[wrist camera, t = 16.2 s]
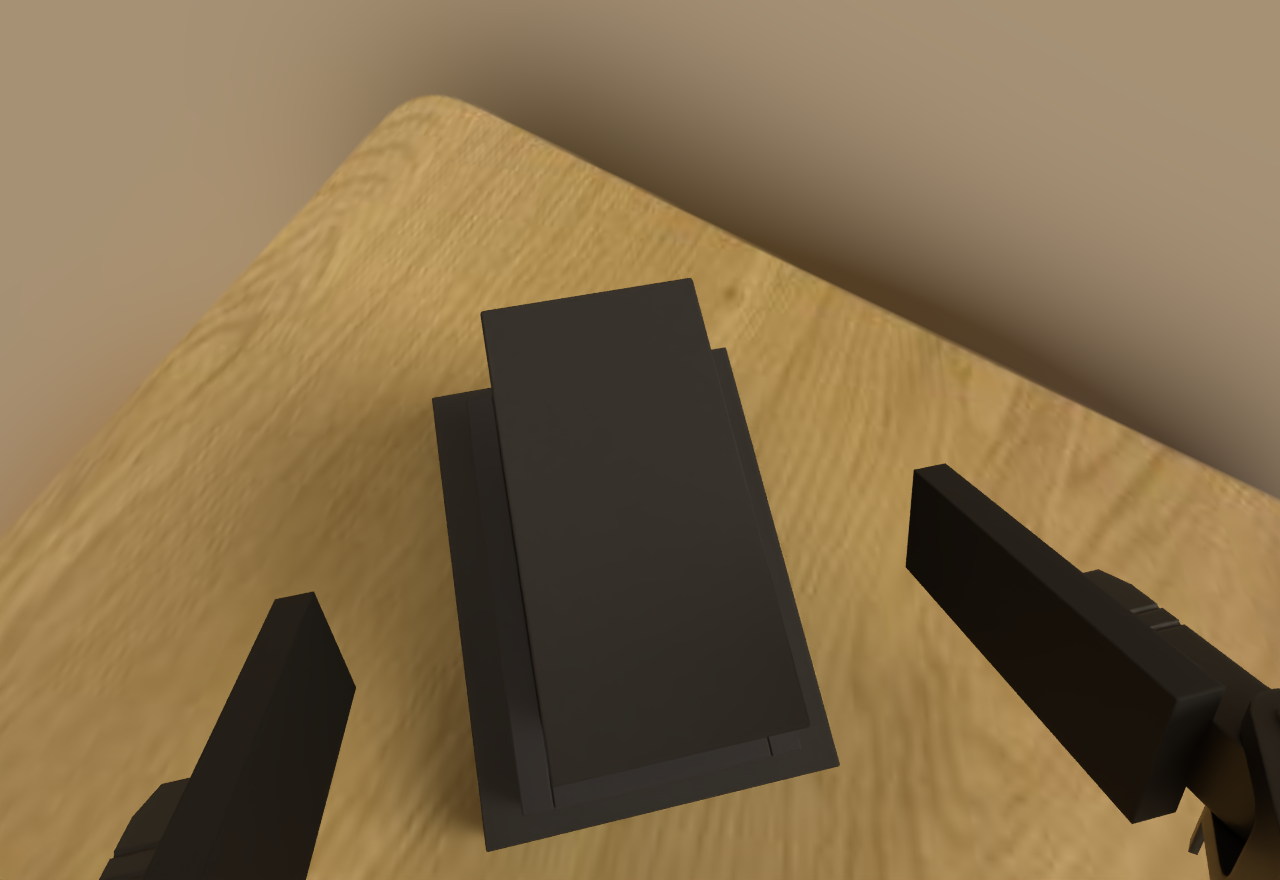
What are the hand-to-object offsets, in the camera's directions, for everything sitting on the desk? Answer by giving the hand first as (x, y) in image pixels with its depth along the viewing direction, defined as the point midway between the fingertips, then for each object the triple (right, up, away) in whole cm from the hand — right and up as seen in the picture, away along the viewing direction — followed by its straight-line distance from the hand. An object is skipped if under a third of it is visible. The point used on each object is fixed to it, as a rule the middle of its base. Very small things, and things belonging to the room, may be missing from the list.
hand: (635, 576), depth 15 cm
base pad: (-1, -2, +12) cm, 12 cm away
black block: (-1, -2, +10) cm, 10 cm away
